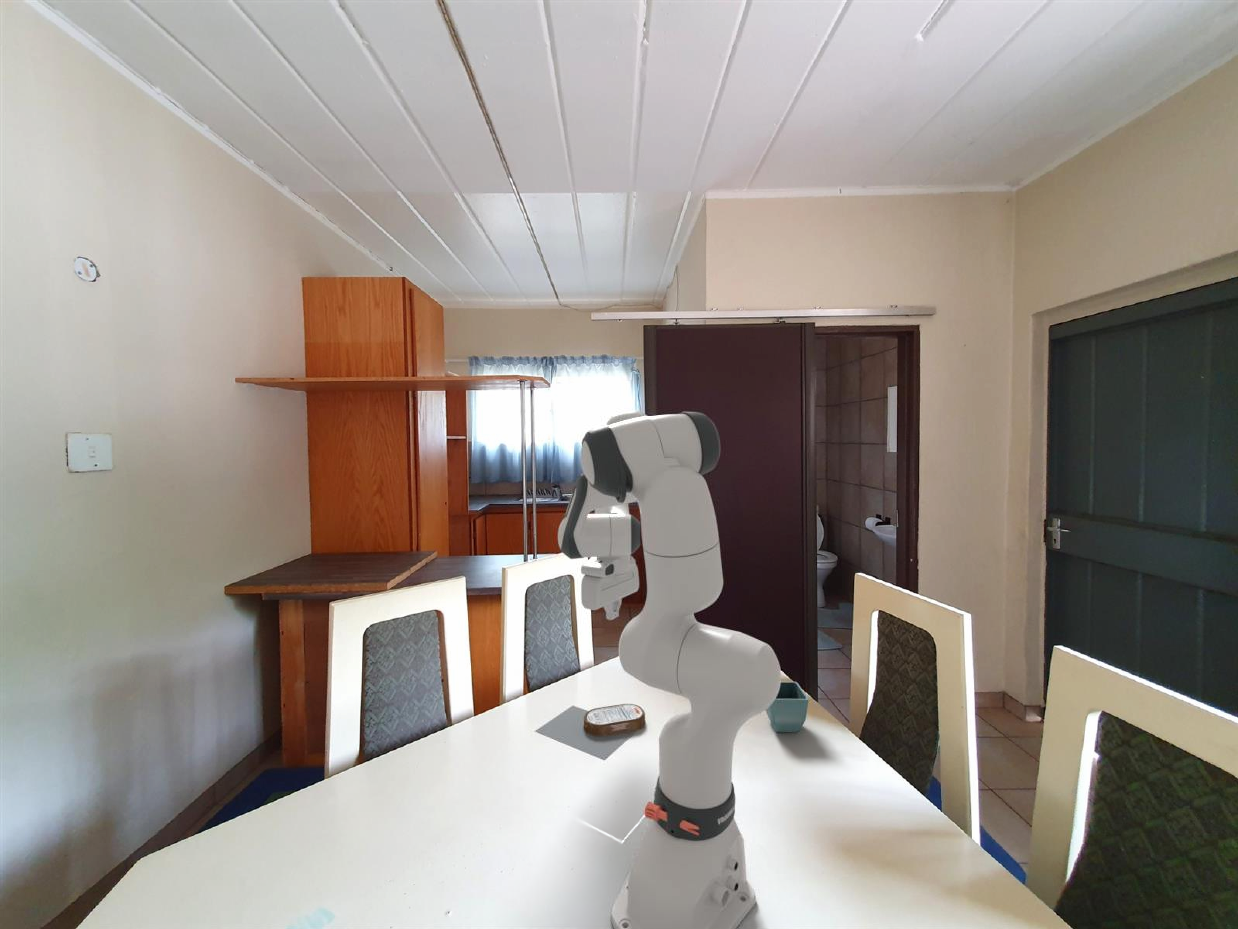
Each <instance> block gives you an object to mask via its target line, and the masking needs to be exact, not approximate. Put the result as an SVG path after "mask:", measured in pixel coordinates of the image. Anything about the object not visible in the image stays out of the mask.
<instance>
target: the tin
mask: <svg viewBox="0 0 1238 929" xmlns="http://www.w3.org/2000/svg"><path fill="white" fill-rule="evenodd" d="M587 711H588V712H587V713H586V714H585V716H584V726H583V728H584V730H585V732H586V733H588V734H590V735H592V736H599V737H602V736H609V735H615V734H620V733H627V732H633V731H637V730H638V731H640V730H641V729H643V728H644V727H645V725H646V712H645V710H644V709H643V708H642V707H641V706H640V705H637V704H633V703H622V704H621V703H620V704H616V705H613V704H612V705H608V706H601V707H595V708H592V709H590V710H587ZM638 731H637V732H638Z"/></svg>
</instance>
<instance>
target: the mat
mask: <svg viewBox="0 0 1238 929" xmlns="http://www.w3.org/2000/svg"><path fill="white" fill-rule="evenodd" d="M588 711H589V710H586V709H584V708H581V707H578V706H575V705H571V706H569V707H568V708H567V709H565V710H564V711H562V712H561V713H560V714H558V715H556V716H555V717H554V718H552V719H550V720H549V721H548V722H546V723H545V724H543V725H542V726H540V727H538V728H537V729H536V730H534V732H536V733H537V734H540V735H542V736H545V737H547V738H550V739H552V740H554V741H557V742H559V743H561V744H564V745H567V746H570V747H572V748H574V749H576V750H579V751H581V752H583V753H585V754H586V753H587V754H588V755H590V756H593V757H596V758H598V759H600V760H603V761H605V760H607V759H608V758H609V757H610V756H611V755H612V754H613V753H615V751H617V750H618V749H619V748H620V747H621V746H622V745H624V744H625V742H627V741H629V739H630V738H631V737H632V736H633V735H635V733H636V732H638V731H639V730H637V731H633V732H627V733H620V734H615V735H609V736H602V737H599V736H592V735H590V734H588V733H586V732H585V730H584V728H583V726H584V716H585V714H586V713H587V712H588Z"/></svg>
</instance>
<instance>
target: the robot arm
mask: <svg viewBox="0 0 1238 929" xmlns="http://www.w3.org/2000/svg"><path fill="white" fill-rule="evenodd" d="M721 448H722V446H721V440H720V435H719V432H718V428H717V427H716V425H715V423H714V422H713V421H712V420H711V418H709V416H708V415H706V414H704V413H702V412H698V411H682V412H679V413H677V414H676V413H674V414H673V413H672V414H670V413H669V414H660V415H651V416H648V415H647V414H645V413H643V412H641V411H639V410H633V409H630V410H629V409H628V410H627V409H626V410H622V411H619V412H617V413H615V414H614V415H613V416H611V417H610V418H609V419H608V421H607V422H606V423H604V424H602V425H600V426H597V427H594V428H592V429H589V430H588V431H587V432H586V433H585V435H583V437H582V441H581V449H580V453H579V454H580V457H579V458H580V459H579V460H580V465H581V469H582V472H583V473H581V474H580V475H579V476H578V478H576V479H577V480H576V482H575V484H574V487H573V488H572V493H571V495H570V499H569V501H568V505H567V508H566V511H565V513H564V516H563V517H562V518H561V522H560V524H559V527H558V530H557V542H558V546H559V550H560V552H561V553H562V554H564V555H565V556H566V557H567V558H569V559H570V560H576V559H577V560H578V559H584V558H589V559H588V560H587V561H586V562H584V563H582V565H581V567H580V571H581V574H582V575H583V577H582V579H581V588H580V589H581V592H580V593H581V594H580V596H581V599H580V600H581V605H582V607H583V608H584V609H586V610H590V611H596V610H599V609H601V608H603V609H604V611H605V617H606V618H605V619H606V620H608V621H612V620H614V619H616V618H618V617H619V615H620V614H619V612H620V608H621V605H622V599H624V598H626V597H627V596H630V595H632V594H634V593H636V592H638V590H639V588H640V576H639V569H638V565H637V564H636V559H635V558H634V556H632V555H633V554H634V553H635V552H636V551H637V550H638V549H639V548H640V546H641V540H642V547H643V548H642V550H643V558H644V564H645V575H646V576H645V577H646V599H645V604H644V606H643V608H642V610H641V611H640V613H639V614H638V615H636V616H635V617H633V618H632V619H630V621H629V622H628V623H626V625H625V626H624V628H623V631H622V632H621V634H620V637H619V641H618V657H619V658H618V659H619V662H620V664H621V667H622V669H623V671H624V672H625V673H627V675H629V676H631V677H633V678H635V679H636V680H638V681H639V682H641V683H643V684H645V685H647V686H649V687H651V688H654V689H657V690H661V691H664V692H667V693H670V694H673V695H677V696H680V697H683V698H684V699H685V698H686V699H687V700H688V701H689V703H690V708H691V709H690V710H687V711H684V712H680V713H678V714H675V715H674V716H673V717H670V718H669V719H668V720H667V721H666V723H665V724H664V725H663V727H662V729H661V732H660V734H659V738H658V749H659V750H658V752H659V753H658V755H659V758H658V760H659V762H658V763H659V764H658V765H659V766H658V767H659V769H658V770H659V772H658V773H659V774H658V777H657V779H656V780H657V781H656V785H655V789H654V794H653V796H654V797H653V802H652V801H648V802H647V803H646V805H645V808H644V817H645V818H646V819H648V821H647V825H646V827H645V829H644V832H643V834H642V837H641V840H640V843H639V845H638V848H637V851H636V853H635V855H634V859H633V860H632V861H633V862H632V865H631V867H630V869H629V872H628V874H627V876H626V878H625V880H624V882H623V884H622V887H621V889H620V891H619V893H618V895H617V897H616V899H615V901H614V903H613V906H612V908H611V912H610V919H609V920H610V922H611V924H612V926H613V929H737V927H738V926H739V925H740V924H741V923H742V921H743V920H744V918H746V916H747V915H748V913H749V912H750V911H751V910H752V909H753V907H754V906H755V904H756V902H757V898H756V892H755V889H754V888H753V886H752V884H751V883H750V882H749V881H748V879H747V867H746V865H747V864H746V852H745V840H744V837H743V835H742V833H741V830H740V829H739V826H738V825H737V824H738V823H737V822H736V820H735V819H736V818H735V813H736V793H735V786H734V783H733V781H732V780H733V776H732V775H733V772H732V770H733V757H734V756H733V755H734V754H733V753H734V744H735V741H736V737H737V734H738V732H739V731H740V730H741V728H742V727H743V725H744V724H745V723H746V722H747V721H749V720H750V719H751V718H753V717H755V716H757V715H759V714H762V713H764V712H766V709H767V708H769V707H770V705H771V704H772V703H773V702H774V700H775V699H776V697H777V694H778V692H779V689H780V684H781V682H782V671H781V666H780V662H779V660H778V657H777V654H776V653H775V651H774V649H773V648H772V646H770V645H769V644H768V643H767V642H764V641H762V640H759V639H757V638H756V637H753V636H751V635H749V634H746V633H743V632H741V631H737V630H732V629H728V628H724V627H718V626H713V625H709V624H705V623H701V622H699V621H697V619H696V618H695V615H694V614H695V613H699V612H701V611H703V610H705V609H707V608H708V607H710V606H711V605H713V604H714V603H715V602H716V601H717V599H718V598H719V596H720V594H721V593H722V590H723V586H724V576H723V575H724V574H723V568H722V558H721V557H722V556H721V547H720V537H719V530H718V522H717V516H716V512H715V507H714V503H713V500H712V496H711V493H710V489H709V487H708V484H707V481H706V479H705V478H704V475H705V474H707V473H709V472H712V470H714V469H715V468H716V467H717V465H718V462H719V459H720V455H721ZM634 502H637V504H638V508H639V513H640V514H639V515H640V521H639V520H638V519H637V518H636V517H635V516H634V515H632V514H630V509H629V504H631V503H634ZM593 511H594V513H591V512H593Z"/></svg>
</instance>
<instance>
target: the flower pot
mask: <svg viewBox="0 0 1238 929" xmlns="http://www.w3.org/2000/svg"><path fill="white" fill-rule="evenodd" d="M809 700H810V698H809V697H808V696H807V694H806V693H805V692H804V690H803V689H802V687H801V686H800V684H799V683H798V682H797V681H781V684H780V689H779V692H778V694H777V697H776V699H775V700H774V702H773V703H772V704H771V705H770V707H769V708H767V709H766V710H765V713H766V715H767V717H768V719H769V721H770V723H771V725H772V728H773V729H774V731H775V732H776V733H798V732H799V731H800V730H801V729H802V727H803V726H804V724H805V722H806V720H807V719H806V718H807V714H808V713H807V712H808V707H809Z"/></svg>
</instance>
